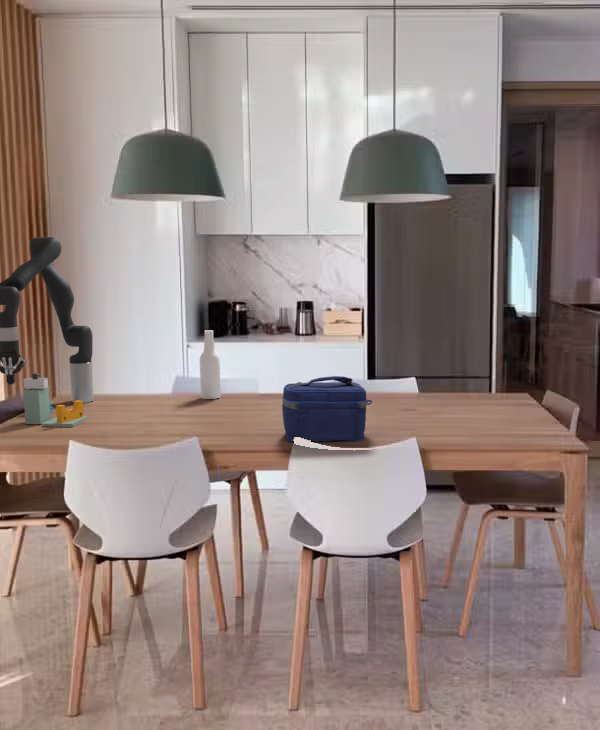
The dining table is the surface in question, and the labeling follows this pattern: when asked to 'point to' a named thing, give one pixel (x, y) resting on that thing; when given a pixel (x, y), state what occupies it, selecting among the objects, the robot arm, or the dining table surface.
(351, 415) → the lunch bag
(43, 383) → the grey block
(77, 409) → the yellow notched block
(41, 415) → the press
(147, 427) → the dining table surface
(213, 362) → the alcohol
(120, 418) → the dining table surface
